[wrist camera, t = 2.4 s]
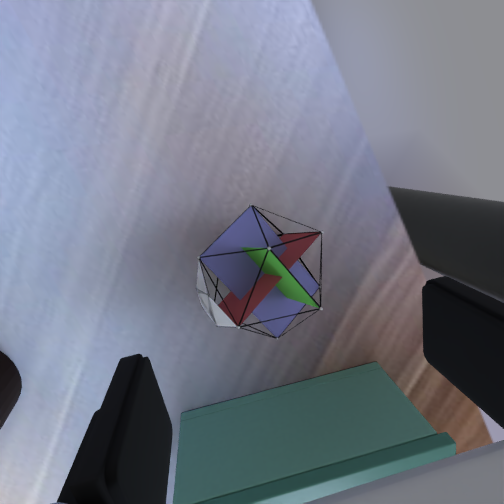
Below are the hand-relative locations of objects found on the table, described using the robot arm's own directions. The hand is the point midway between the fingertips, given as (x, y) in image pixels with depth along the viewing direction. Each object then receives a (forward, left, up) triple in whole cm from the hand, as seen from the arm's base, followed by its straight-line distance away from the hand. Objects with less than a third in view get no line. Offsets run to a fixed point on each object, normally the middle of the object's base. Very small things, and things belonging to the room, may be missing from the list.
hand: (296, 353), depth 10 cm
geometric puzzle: (0, 0, -11) cm, 11 cm away
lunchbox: (0, +17, -11) cm, 20 cm away
